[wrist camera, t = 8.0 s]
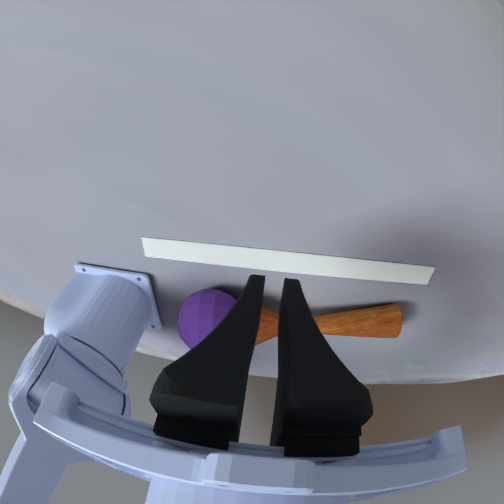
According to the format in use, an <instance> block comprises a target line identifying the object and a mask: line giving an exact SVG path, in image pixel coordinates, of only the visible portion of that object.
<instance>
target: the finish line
mask: <svg viewBox="0 0 504 504" xmlns="http://www.w3.org/2000/svg"><path fill="white" fill-rule="evenodd" d="M142 242H143V247H144V252H145V256H147V257H155V258H164V259H172V260H180V261H189V262H198V263H206V264H215V265H224V266H233V267H242V268H252V269H261V270H271V271H281V272H291V273H301V274H311V275H321V276H332V277H343V278H353V279H365V280H376V281H388V282H400V283H412V284H425V285H427V284H428V282H429V280H430V278H431V276H432V274H433V272H434V270H435V267H430V266H421V265H412V264H402V263H393V262H384V261H374V260H365V259H355V258H346V257H336V256H327V255H317V254H308V253H298V252H288V251H278V250H269V249H259V248H249V247H239V246H229V245H219V244H209V243H199V242H189V241H179V240H169V239H158V238H148V237H142Z"/></svg>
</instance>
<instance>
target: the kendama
mask: <svg viewBox="0 0 504 504" xmlns="http://www.w3.org/2000/svg"><path fill="white" fill-rule="evenodd" d="M235 302H236V300H235V299H234V297H233V296H231V295H229V294H227V293H225V292H222V291H220V290H211V289H204V290H201V291H199V292H196V293H193V294H192V295H191V296H190V297H189V298H188V299H187V300H186V301H185V302H184V303H183V304H182V305H181V308H180V311H179V314H178V318H177V325H178V329H179V333H180V337H181V338H182V340H183V341H184V342H185V343H186V344H187V346H188V347H189V348H190V349H192V348H194V347H195V346H196V345H197V344H198V343H200V342H201V341H202V340H203V339H204V338H205V337H206V336H207V335H208V334H209V333H210V332H211V331H212V330H213V329H214V328H215V327H216V326H217V325H218V324H219V323H220V322H221V320H222V319H223V318H224V317H225V316H226V314H227V313H228V312H229V310H230V309H231V308H232V306H233V305H234V304H235ZM313 318H314V320H315V322H316V324H317V326H318V327H319V329H320V331H321V333H322V334H328V335H342V336H358V337H378V338H396V337H398V336H399V334H400V332H401V328H402V313H401V309H400V307H399V306H398V305H397V304H389V305H383V306H377V307H371V308H365V309H359V310H352V311H345V312H338V313H331V314H323V315H315V316H313ZM278 319H279V314H277V313H275V312H273V311H271V310H268V309H266V308H264V307H262V309H261V317H260V325H259V329H258V334H257V338H256V342H255V345H257V344H259V343H261V342H264V341H266V340H269V339H271V338H273V337H276V336H278Z"/></svg>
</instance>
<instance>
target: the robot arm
mask: <svg viewBox="0 0 504 504" xmlns="http://www.w3.org/2000/svg"><path fill="white" fill-rule="evenodd" d="M74 269H75V271H76V273H75V274H74V275H73V277H72V278H71V279H70V280H69V282H68V283H67V284H66V286H65V287H64V288H63V289H62V291H61V292H60V293H59V295H58V296H57V297H56V299H55V300H54V301H53V303H52V304H51V306H50V307H49V309H48V311H47V314H46V317H45V322H44V332H45V335H43V336H42V337H41V338H40V339H39V340H38V341H37V342H36V343H35V345H34V346H33V348H32V349H31V350H30V352H29V353H28V355H27V356H26V358H25V359H24V361H23V363H22V365H21V367H20V369H19V370H18V373H17V375H16V378H15V380H14V382H13V383H12V385H11V387H10V390H9V406H10V409H11V411H12V413H13V415H14V417H15V420H16V422H17V424H18V426H19V428H20V430H21V433H20V435H19V437H18V439H17V441H16V443H15V445H14V447H13V449H12V452H11V453H10V456H9V458H8V460H7V462H6V464H5V466H4V469H3V471H2V473H1V476H0V504H47V503H48V501H49V499H50V497H51V495H52V493H53V491H54V489H55V487H56V485H57V483H58V481H59V479H60V477H61V476H62V474H63V472H64V470H65V468H66V466H67V465H69V464H76V463H88V462H95V461H100V462H102V463H104V464H106V465H109V466H111V467H113V468H116V469H118V470H121V471H123V472H126V473H128V474H131V475H134V476H136V477H139V478H142V479H145V480H148V481H151V483H150V487H149V491H148V495H147V499H146V502H145V504H348V502H349V501H357V500H364V499H369V498H376V497H381V496H386V495H391V494H396V493H400V492H404V491H409V490H413V489H416V488H420V487H424V486H427V485H431V484H434V483H437V482H440V481H442V480H445V479H447V478H449V477H452V476H454V475H456V474H458V473H461V472H463V471H465V470H466V469H467V462H466V455H465V449H464V443H463V437H462V432H461V427H460V426H455V427H451V428H447V429H443V430H440V431H438V432H436V433H435V434H433V435H432V436H431V437H427V438H422V439H417V440H411V441H405V442H398V443H391V444H382V445H372V446H361V447H360V446H359V436H361V426H362V425H364V424H365V423H366V422H367V421H368V420H369V419H370V418H371V416H372V415H373V406H372V401H371V397H370V394H369V390H368V389H367V388H366V387H365V386H363V384H362V383H360V382H359V381H358V380H357V379H356V378H355V377H354V376H353V375H352V373H351V372H350V371H349V370H348V369H347V368H346V367H345V365H344V364H343V363H342V362H341V360H340V359H339V358H338V357H337V355H336V354H335V353H334V351H333V350H332V349H331V347H330V346H329V344H328V343H327V341H326V339H325V338H324V336H323V335H322V333H321V331H320V329H319V327H318V326H317V324H316V322H315V320H314V318H313V316H312V314H311V311H310V309H309V307H308V305H307V302H306V300H305V297H304V294H303V291H302V288H301V285H300V281H299V280H297V279H288V278H285V280H284V286H283V291H282V297H281V303H280V308H279V319H278V381H277V391H276V399H275V409H274V416H273V424H272V432H271V438H270V439H271V440H270V445H269V446H265V445H255V444H246V443H238V441H239V434H240V427H241V421H242V414H243V406H244V400H245V393H246V386H247V379H248V372H249V367H250V363H251V359H252V354H253V350H254V346H255V342H256V338H257V334H258V329H259V325H260V317H261V309H262V301H263V292H264V283H265V276H262V275H253V274H252V275H250V276H249V279H248V281H247V284H246V286H245V287H244V289H243V291H242V293H241V294H240V296H239V297H238V299H237V300H236V302H235V304H234V305H233V306H232V308H231V309H230V310H229V312H228V313H227V314H226V316H225V317H224V318H223V319H222V320H221V322H220V323H219V324H218V325H217V326H216V327H215V328H214V329H213V330H212V331H211V332H210V333H209V334H208V335H207V336H206V337H205V338H204V339H203V340H202V341H201V342H200V343H198V344H197V345H196V346H195V347H194V348H192V349H191V350H190V351H188V352H187V353H186V354H185V355H183V356H182V357H180V358H179V359H177V360H176V361H174V362H173V363H171V364H170V365H168V366H167V367H165V368H164V369H163V370H162V372H161V373H160V375H159V377H158V378H157V380H156V382H155V384H154V386H153V389H152V393H151V395H150V398H149V400H150V402H151V404H152V406H153V408H154V409H155V411H156V412H157V414H158V415H157V418H156V422H155V425H152V424H149V423H146V422H142V421H139V420H136V419H133V418H130V416H131V400H130V397H129V395H128V394H127V393H126V392H125V390H126V388H127V386H128V382H127V381H125V380H124V379H123V377H124V374H125V372H126V370H127V367H128V365H129V363H130V360H131V358H132V356H133V354H134V352H135V350H136V347H137V345H138V343H139V341H140V339H141V336H142V334H143V332H144V330H145V328H151V329H155V330H161V328H162V324H161V320H160V317H159V313H158V309H157V306H156V302H155V298H154V294H153V290H152V286H151V282H150V278H149V276H148V275H146V274H142V273H135V272H129V271H122V270H116V269H110V268H104V267H97V266H91V265H86V264H80V263H76V264H75V265H74ZM140 278H141V279H140ZM188 451H189V452H188ZM191 452H194V453H191Z"/></svg>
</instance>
